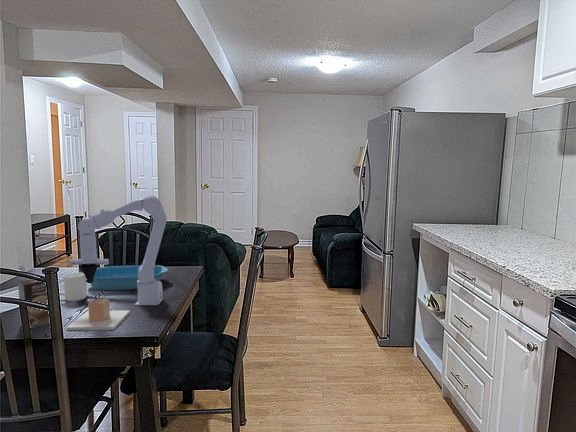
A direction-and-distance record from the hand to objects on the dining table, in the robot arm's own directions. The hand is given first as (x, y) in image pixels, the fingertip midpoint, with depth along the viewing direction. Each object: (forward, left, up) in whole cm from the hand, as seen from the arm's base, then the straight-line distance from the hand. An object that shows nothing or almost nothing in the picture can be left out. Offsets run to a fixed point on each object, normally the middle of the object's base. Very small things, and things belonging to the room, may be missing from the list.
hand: (90, 282), depth 162 cm
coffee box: (+12, +16, -11) cm, 23 cm away
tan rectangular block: (-9, +14, -9) cm, 19 cm away
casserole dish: (-3, -32, -11) cm, 34 cm away
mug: (+14, -12, -11) cm, 21 cm away
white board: (-9, +14, -10) cm, 20 cm away
